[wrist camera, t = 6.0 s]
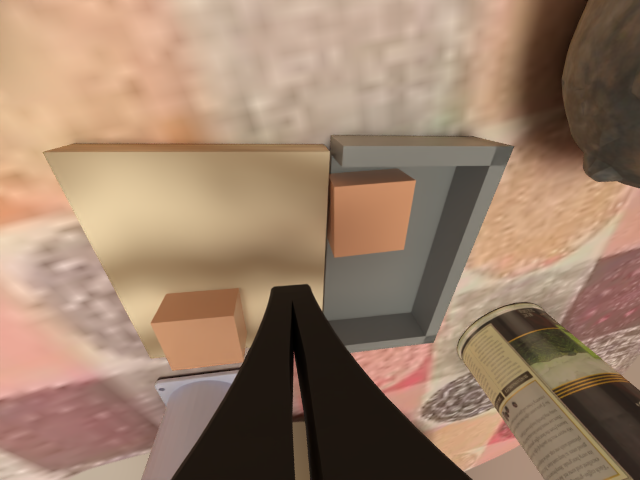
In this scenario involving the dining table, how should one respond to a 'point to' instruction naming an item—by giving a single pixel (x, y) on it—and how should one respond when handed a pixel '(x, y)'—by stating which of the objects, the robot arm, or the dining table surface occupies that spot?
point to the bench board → (199, 220)
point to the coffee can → (555, 395)
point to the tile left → (201, 328)
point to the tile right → (368, 211)
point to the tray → (411, 237)
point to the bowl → (606, 90)
